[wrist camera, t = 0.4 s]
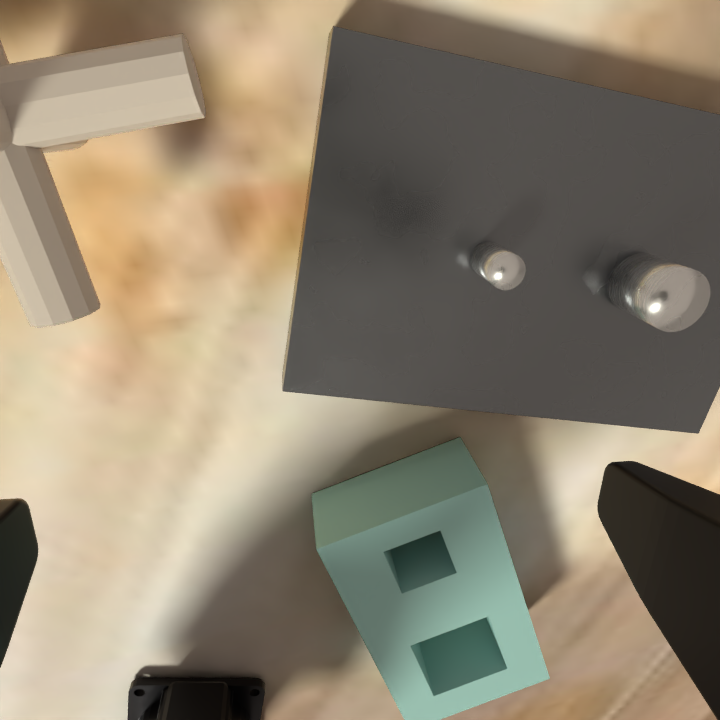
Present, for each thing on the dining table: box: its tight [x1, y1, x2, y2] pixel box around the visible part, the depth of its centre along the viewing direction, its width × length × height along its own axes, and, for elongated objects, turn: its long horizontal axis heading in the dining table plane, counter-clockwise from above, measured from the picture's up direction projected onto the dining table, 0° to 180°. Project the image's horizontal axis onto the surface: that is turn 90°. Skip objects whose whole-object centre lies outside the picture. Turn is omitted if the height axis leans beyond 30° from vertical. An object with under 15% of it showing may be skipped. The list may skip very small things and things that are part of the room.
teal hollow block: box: [312, 437, 550, 720], centre depth 25 cm, size 12×7×4 cm, turn 20°
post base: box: [282, 26, 720, 433], centre depth 20 cm, size 12×18×4 cm, turn 80°
